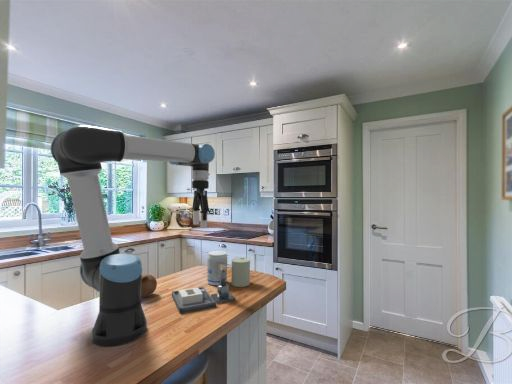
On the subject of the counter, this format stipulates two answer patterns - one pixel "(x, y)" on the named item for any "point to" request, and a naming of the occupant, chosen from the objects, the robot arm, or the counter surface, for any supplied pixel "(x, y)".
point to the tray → (206, 303)
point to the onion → (148, 285)
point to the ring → (191, 295)
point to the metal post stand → (223, 288)
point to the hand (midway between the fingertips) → (199, 226)
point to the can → (240, 272)
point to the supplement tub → (215, 266)
